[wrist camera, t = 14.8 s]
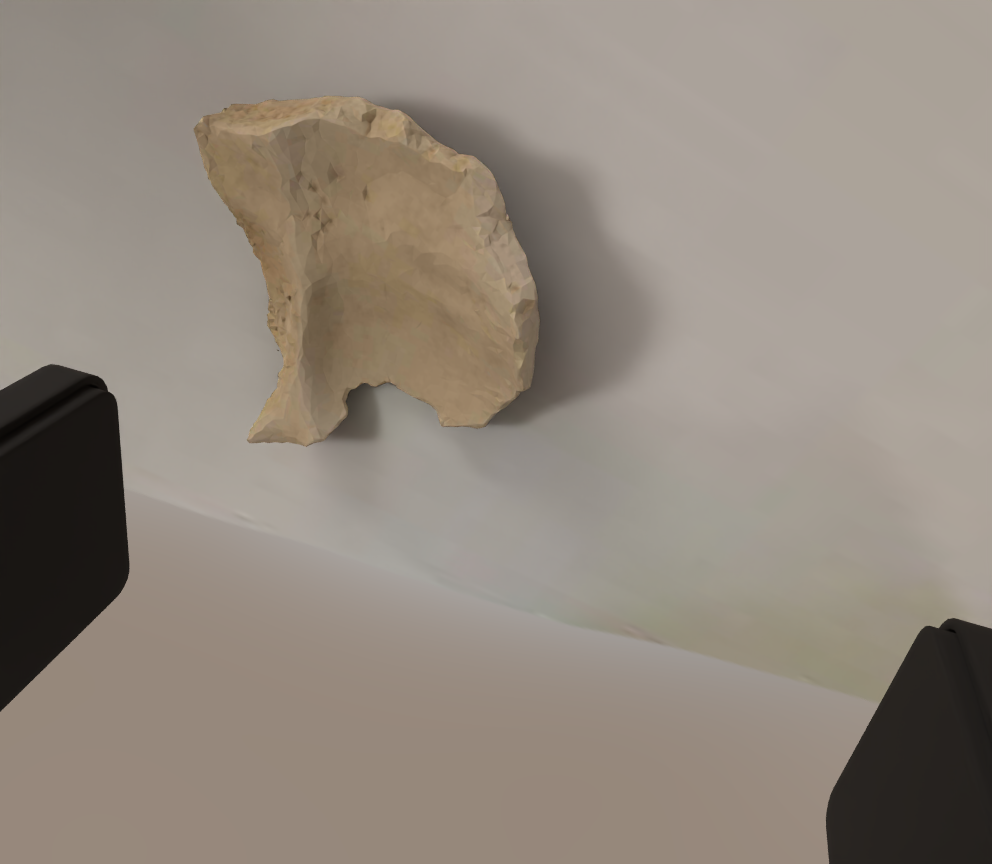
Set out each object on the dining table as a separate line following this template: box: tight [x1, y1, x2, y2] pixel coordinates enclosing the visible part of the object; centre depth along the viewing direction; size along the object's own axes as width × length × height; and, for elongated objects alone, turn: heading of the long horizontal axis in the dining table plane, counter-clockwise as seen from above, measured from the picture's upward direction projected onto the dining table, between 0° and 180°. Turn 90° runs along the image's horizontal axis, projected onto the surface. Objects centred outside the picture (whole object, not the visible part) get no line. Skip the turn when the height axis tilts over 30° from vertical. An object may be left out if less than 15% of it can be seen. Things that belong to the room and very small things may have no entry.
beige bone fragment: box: [194, 96, 540, 447], centre depth 40 cm, size 18×15×4 cm
